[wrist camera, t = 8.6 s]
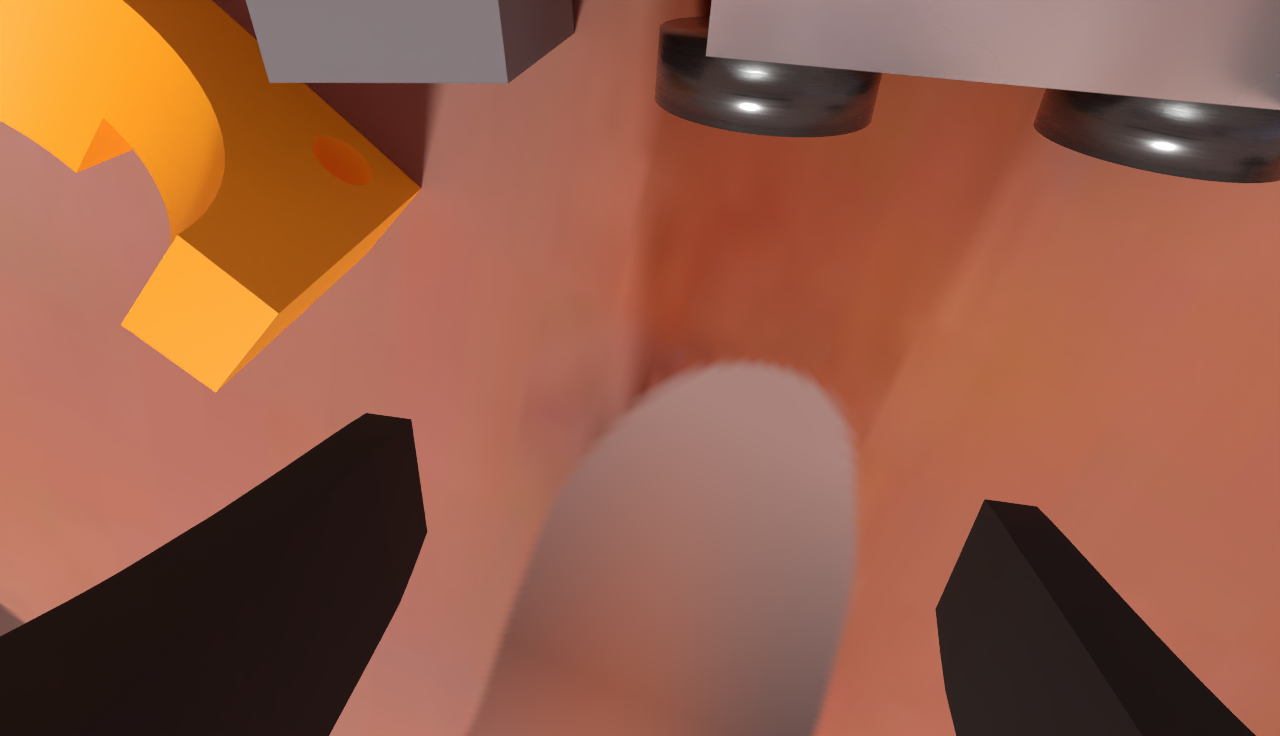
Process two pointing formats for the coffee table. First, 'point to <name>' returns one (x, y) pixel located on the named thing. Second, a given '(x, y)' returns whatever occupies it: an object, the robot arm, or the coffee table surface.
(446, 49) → the block
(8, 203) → the coffee table surface
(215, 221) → the pipe clamp
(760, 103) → the trolley
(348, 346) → the coffee table surface
